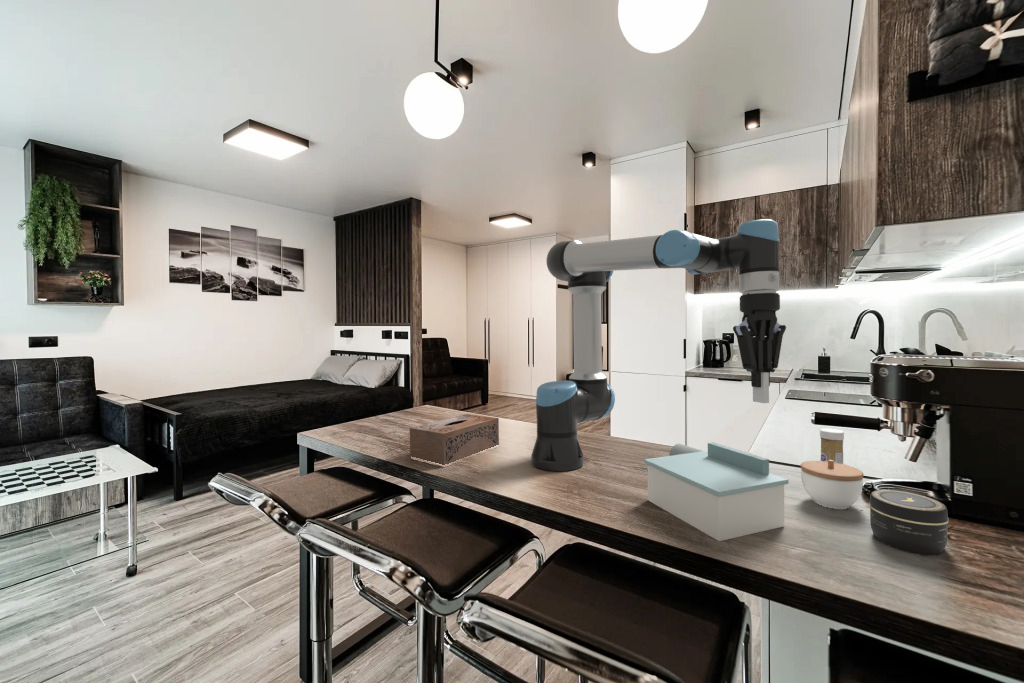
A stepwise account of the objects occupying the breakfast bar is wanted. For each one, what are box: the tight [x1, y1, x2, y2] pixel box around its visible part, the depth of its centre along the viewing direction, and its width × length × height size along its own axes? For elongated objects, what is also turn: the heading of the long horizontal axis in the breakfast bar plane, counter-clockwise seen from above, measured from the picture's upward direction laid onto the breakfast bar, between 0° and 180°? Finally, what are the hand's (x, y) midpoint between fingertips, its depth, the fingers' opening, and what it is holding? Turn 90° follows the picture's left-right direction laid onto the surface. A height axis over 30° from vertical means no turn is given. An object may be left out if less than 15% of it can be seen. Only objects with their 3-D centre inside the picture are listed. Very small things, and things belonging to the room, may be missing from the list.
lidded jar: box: [800, 460, 864, 510], centre depth 90 cm, size 11×11×9 cm
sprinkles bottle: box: [819, 427, 845, 464], centre depth 100 cm, size 5×5×13 cm
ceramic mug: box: [668, 443, 703, 456], centre depth 110 cm, size 11×8×8 cm
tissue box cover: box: [409, 413, 500, 465], centre depth 134 cm, size 26×14×10 cm, turn 145°
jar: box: [869, 489, 950, 556], centre depth 73 cm, size 10×10×8 cm
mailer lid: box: [643, 441, 789, 496], centre depth 87 cm, size 21×17×4 cm
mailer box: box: [646, 464, 785, 542], centre depth 87 cm, size 20×16×8 cm
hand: (760, 402), depth 91 cm, fingers closed
